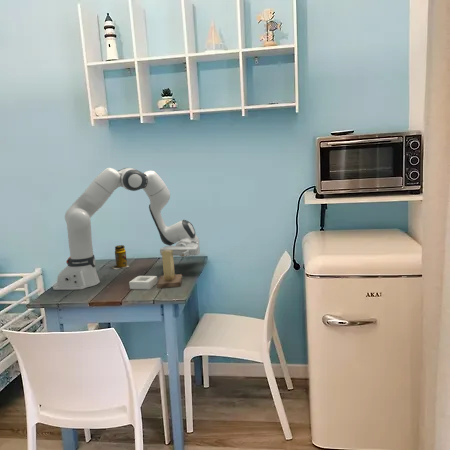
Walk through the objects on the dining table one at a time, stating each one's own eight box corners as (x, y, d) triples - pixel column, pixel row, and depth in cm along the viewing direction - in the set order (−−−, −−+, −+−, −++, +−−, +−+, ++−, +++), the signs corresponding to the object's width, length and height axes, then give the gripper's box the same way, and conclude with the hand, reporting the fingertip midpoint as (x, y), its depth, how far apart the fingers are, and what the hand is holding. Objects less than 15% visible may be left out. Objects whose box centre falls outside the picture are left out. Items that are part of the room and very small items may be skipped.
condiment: (129, 266, 266) (127, 245, 264) (115, 269, 261) (113, 248, 259) (124, 264, 272) (122, 244, 270) (110, 267, 267) (108, 246, 265)
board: (157, 288, 222) (157, 284, 221) (160, 279, 236) (160, 275, 235) (180, 286, 222) (180, 282, 222) (182, 277, 236) (181, 274, 235)
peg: (164, 280, 227) (161, 251, 225) (167, 277, 231) (164, 249, 228) (172, 280, 226) (169, 251, 224) (175, 277, 230) (172, 249, 227)
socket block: (129, 289, 223) (129, 281, 223) (139, 282, 233) (138, 275, 232) (149, 289, 220) (148, 282, 220) (157, 282, 230) (157, 276, 229)
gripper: (165, 242, 250) (154, 248, 236) (201, 242, 244) (192, 248, 231) (166, 254, 251) (155, 260, 238) (202, 253, 245) (193, 260, 232)
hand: (174, 254), depth 234 cm, fingers open, 8 cm apart
